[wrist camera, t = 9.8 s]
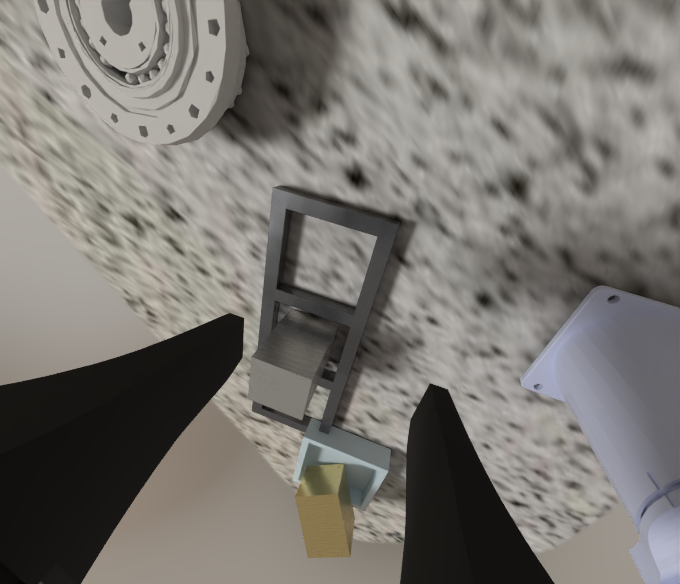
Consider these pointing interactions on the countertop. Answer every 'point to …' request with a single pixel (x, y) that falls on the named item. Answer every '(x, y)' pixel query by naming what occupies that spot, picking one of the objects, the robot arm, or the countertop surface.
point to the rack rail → (279, 292)
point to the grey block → (291, 363)
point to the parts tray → (345, 460)
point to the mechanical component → (150, 62)
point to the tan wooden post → (326, 511)
